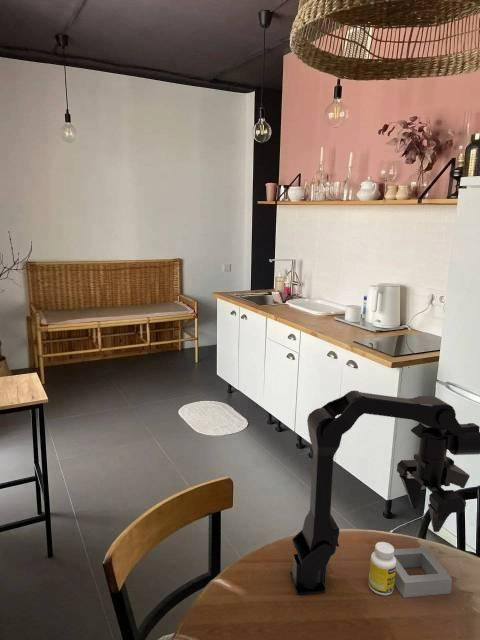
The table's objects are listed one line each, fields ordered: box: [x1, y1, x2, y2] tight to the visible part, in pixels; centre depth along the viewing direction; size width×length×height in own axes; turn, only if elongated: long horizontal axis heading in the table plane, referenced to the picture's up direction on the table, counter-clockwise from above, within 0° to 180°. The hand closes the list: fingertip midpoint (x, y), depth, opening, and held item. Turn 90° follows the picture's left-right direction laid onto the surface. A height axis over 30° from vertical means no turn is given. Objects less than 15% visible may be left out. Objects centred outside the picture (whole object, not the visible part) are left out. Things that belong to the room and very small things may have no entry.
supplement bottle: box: [368, 541, 396, 596], centre depth 103 cm, size 5×5×10 cm
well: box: [394, 546, 453, 599], centre depth 107 cm, size 11×11×4 cm
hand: (424, 519), depth 106 cm, fingers open, 9 cm apart
